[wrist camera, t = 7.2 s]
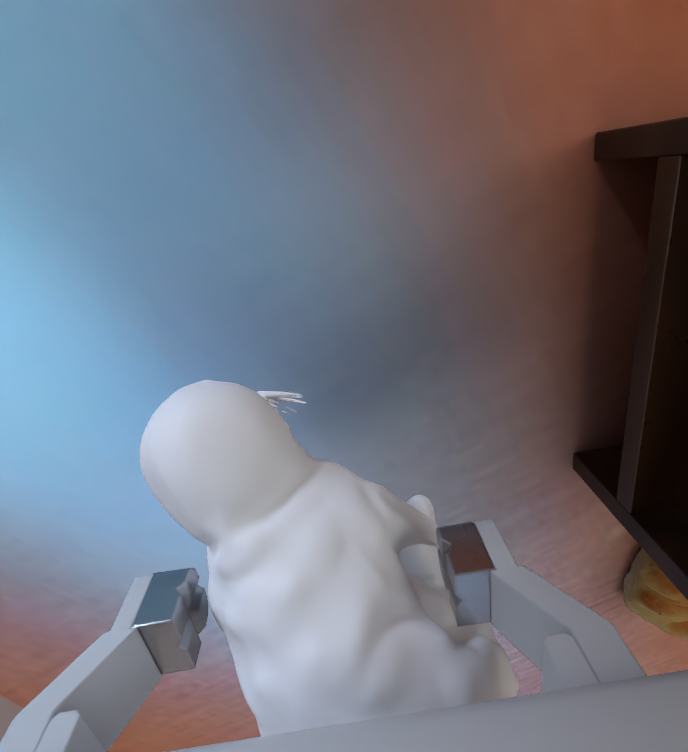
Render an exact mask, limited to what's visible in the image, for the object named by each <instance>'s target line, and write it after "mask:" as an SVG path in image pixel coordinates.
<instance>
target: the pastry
mask: <svg viewBox="0 0 688 752" xmlns="http://www.w3.org/2000/svg"><path fill="white" fill-rule="evenodd" d="M640 550H641V551H639V552H638V554H637V555H636V557H635V559H634V561H633V563H632V564H631V570H630V572H629V573H627V574H626V576H625V578H624V582H623V584H624V602H625V604H626V606H627V607H628V608H629V609H630V610H631V611H633V612H635V613H637V614H638V615H640V616H641V617H642V618H643V619H644V620H646V621H648V622H650V623H652V624H655V625H656V626H658V627H659V628H660V629H661V630H663V631H664V632H666V633H668V634H671V635H675V636H680V637H688V600H687V599H686V598H685V597H684V596H683V595H682V593H681V592H680V591H679V590H678V589H677V588H676V586H675V585H674V584H673V583H672V582H671V581H670V580H669V578H668V577H667V576H666V575H665V574H664V573H663V571H662V570H661V569H660V568H659V567H658V566H657V565H656V563H655V562H654V561H653V560H652V559H651V558H650V556H649V555H648V554H647V553H646V552H645V551H644V550H643V548H642V547H641V549H640Z"/></svg>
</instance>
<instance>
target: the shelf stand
mask: <svg viewBox="0 0 688 752" xmlns="http://www.w3.org/2000/svg"><path fill="white" fill-rule="evenodd" d="M659 156H661V157H659ZM644 157H659V158H658V164H657V172H656V181H655V189H654V197H653V205H652V213H651V221H650V230H649V238H648V246H647V254H646V262H645V270H644V278H643V287H642V295H641V303H640V311H639V319H638V327H637V335H636V344H635V352H634V360H633V368H632V376H631V384H630V393H629V401H628V409H627V417H626V425H625V433H624V441H623V446H619V447H612V448H606V449H599V450H593V451H587V452H580V453H575V454H574V461H573V469H574V470H575V471H576V472H577V473H578V475H579V476H580V477H581V478H582V479H583V480H584V482H585V483H586V484H587V485H588V486H589V487H590V488H591V490H592V491H593V492H594V493H595V494H596V495H597V497H598V498H599V499H600V500H601V501H602V502H603V503H604V505H605V506H606V507H607V508H608V509H609V510H610V512H611V513H612V514H613V515H614V516H615V517H616V518H617V520H618V521H619V522H620V523H621V524H622V525H623V526H624V528H625V529H626V530H627V531H628V532H629V533H630V535H631V536H632V537H633V538H634V539H635V540H636V541H637V543H638V544H639V545H640V546H641V547H642V548H643V550H644V551H645V552H646V553H647V554H648V555H649V556H650V558H651V559H652V560H653V561H654V562H655V563H656V565H657V566H658V567H659V568H660V569H661V570H662V571H663V573H664V574H665V575H666V576H667V577H668V578H669V580H670V581H671V582H672V583H673V584H674V585H675V586H676V588H677V589H678V590H679V591H680V592H681V593H682V595H683V596H684V597H685V598H686V599H687V600H688V117H684V118H678V119H672V120H667V121H661V122H655V123H649V124H644V125H638V126H632V127H626V128H621V129H615V130H609V131H603V132H598V133H596V142H595V157H594V160H595V161H601V160H616V159H630V158H644Z"/></svg>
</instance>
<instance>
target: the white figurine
mask: <svg viewBox="0 0 688 752" xmlns="http://www.w3.org/2000/svg"><path fill="white" fill-rule="evenodd" d="M290 392H294V391H290ZM300 396H303V395H301V394H295V393H288V392H282V391H258V392H255V391H253V390H251V389H249V388H247V387H244V386H242V385H239V384H236V383H233V382H221V381H213V380H202V381H199V382H197V383H193V384H190V385H187V386H184V387H182V388H180V389H178V390H177V391H176V392H174V393H173V394H172V395H171V396H170V397H168V398H167V399H166V400H165V401H164V402H163V403H162V404H161V405H160V406H159V407H158V408H157V410H156V411H155V412H154V414H153V415H152V417H151V419H150V421H149V422H148V424H147V426H146V428H145V431H144V433H143V436H142V439H141V444H140V465H141V470H142V473H143V476H144V478H145V480H146V482H147V484H148V486H149V488H150V489H151V491H152V493H153V494H154V495H155V497H156V498H157V500H158V501H159V502H160V504H161V505H162V506H163V508H164V509H165V510H166V511H167V512H168V513H169V514H170V516H171V517H172V518H173V519H174V520H175V521H177V522H178V523H179V524H180V525H181V526H182V527H183V528H184V529H185V530H186V531H187V532H188V533H190V534H191V535H192V536H193V537H195V538H196V539H198V540H199V541H201V542H203V543H205V544H207V563H208V569H209V584H208V598H209V602H210V606H211V610H212V613H213V615H214V617H215V619H216V621H217V623H218V625H219V626H220V628H221V629H222V630H223V632H224V633H225V635H226V637H227V640H228V644H229V647H230V650H231V653H232V655H233V659H234V664H235V668H236V672H237V676H238V680H239V683H240V686H241V689H242V691H243V694H244V696H245V699H246V701H247V703H248V705H249V707H250V709H251V710H252V712H253V714H254V715H255V717H256V719H257V723H258V727H259V731H260V734H261V737H263V736H270V735H276V734H283V733H289V732H295V731H302V730H308V729H315V728H321V727H327V726H334V725H340V724H346V723H353V722H359V721H365V720H372V719H378V718H384V717H391V716H397V715H403V714H409V713H416V712H422V711H428V710H435V709H441V708H447V707H454V706H460V705H466V704H473V703H479V702H486V701H492V700H498V699H505V698H511V697H516V694H517V691H518V688H519V682H518V680H517V677H516V676H515V674H514V672H513V669H512V666H511V664H510V661H509V659H508V657H507V655H506V653H505V651H504V649H503V648H502V646H501V645H500V644H499V643H498V642H497V640H496V638H495V635H494V633H493V631H492V629H491V627H490V625H489V623H480V624H472V625H465V626H458V625H457V622H456V619H455V616H454V613H453V610H452V607H451V604H450V595H449V590H448V589H446V588H445V584H444V581H443V578H442V574H441V570H440V564H439V557H438V551H437V548H436V546H439V545H438V541H437V537H436V528H439V526H438V525H437V523H436V522H435V515H434V510H433V507H432V504H431V502H430V500H429V499H428V498H427V497H426V496H424V495H415V496H413V497H411V498H410V499H409V500H407V501H406V502H405V501H404V500H402V499H400V498H398V497H397V496H395V495H394V494H392V493H391V492H390V491H389V490H388V489H387V488H385V487H383V486H381V485H379V484H376V483H373V482H370V481H367V480H364V479H362V478H361V477H359V476H357V475H356V474H354V473H353V472H351V471H350V470H348V469H347V468H345V467H343V466H342V465H340V464H337V463H335V462H332V461H327V460H320V459H315V458H313V457H312V456H311V455H309V454H308V453H307V452H306V451H305V450H304V449H303V448H302V447H301V446H300V445H299V444H298V443H297V442H296V441H295V439H294V438H293V436H292V434H291V432H290V430H289V425H288V424H286V422H285V421H284V420H283V418H282V416H281V415H280V414H279V412H278V411H277V410H276V409H275V408H274V407H276V408H278V407H277V406H275V405H274V404H276V403H277V402H276V401H283V402H293V403H304V404H307V402H304V401H299V400H294V399H290V398H302V397H300ZM268 400H270V401H268ZM271 401H274V402H276V403H273V402H271ZM271 403H272V404H271ZM278 404H280V403H279V402H278ZM276 405H277V404H276ZM282 406H283V405H282ZM283 407H285V408H286V406H283ZM278 409H279V408H278ZM289 409H290V408H289ZM291 410H292V409H291ZM281 411H282V410H281ZM292 411H293V410H292ZM282 412H285V411H282ZM294 412H296V411H295V410H294ZM285 413H286V412H285ZM286 414H289V413H286ZM289 415H290V414H289Z"/></svg>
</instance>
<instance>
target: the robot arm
mask: <svg viewBox="0 0 688 752" xmlns="http://www.w3.org/2000/svg"><path fill="white" fill-rule="evenodd" d="M436 537H437V541H438V545H439V548H440V549H439V550H438V557H439V564H440V570H441V574H442V578H443V581H444V584H445V588H446V589H448V590H449V595H450V604H451V607H452V610H453V613H454V616H455V619H456V622H457V625H458V626H465V625H472V624H480V623H488V622H491V624H492V625H493V626H494V627H495V628H496V629H497V630H498V631H499V632H500V633H501V634H503V635H504V636H505V637H506V638H507V639H508V640H509V641H510V642H511V643H512V644H513V645H514V646H515V647H516V648H517V649H518V650H519V651H520V652H521V653H522V654H523V655H524V656H526V657H527V658H528V659H529V660H530V661H531V662H532V663H533V664H534V665H535V666H536V667H537V668H538V669H539V670H540V671H541V672H542V682H541V693H537V694H530V695H524V696H517V697H511V698H505V699H498V700H492V701H486V702H479V703H473V704H466V705H460V706H454V707H447V708H441V709H435V710H428V711H422V712H416V713H409V714H403V715H397V716H391V717H384V718H378V719H372V720H365V721H359V722H353V723H346V724H340V725H334V726H327V727H321V728H315V729H308V730H302V731H295V732H289V733H283V734H276V735H270V736H263V737H257V738H251V739H244V740H238V741H231V742H225V743H219V744H212V745H206V746H199V747H193V748H187V749H180V750H174V751H167V752H688V670H683V671H677V672H671V673H664V674H658V675H651V676H647V675H646V674H645V672H644V671H643V669H642V667H641V666H640V664H639V663H638V661H637V660H636V658H635V657H634V655H633V654H632V652H631V651H630V649H629V648H628V646H627V645H626V643H625V642H624V640H623V639H622V637H621V636H620V634H619V633H618V631H617V630H616V628H615V627H614V625H613V624H612V623H611V622H609V621H608V620H606V619H605V618H603V617H602V616H600V615H599V614H597V613H596V612H594V611H592V610H591V609H589V608H588V607H586V606H585V605H583V604H582V603H580V602H579V601H577V600H576V599H574V598H573V597H571V596H569V595H568V594H566V593H565V592H563V591H562V590H560V589H559V588H557V587H556V586H554V585H553V584H551V583H550V582H548V581H546V580H545V579H543V578H542V577H540V576H539V575H537V574H536V573H534V572H533V571H531V570H530V569H528V568H527V567H525V566H517V564H516V562H515V560H514V558H513V556H512V554H511V552H510V550H509V549H508V547H507V545H506V543H505V541H504V539H503V537H502V535H501V533H500V531H499V529H498V527H497V526H496V524H495V522H494V520H492V519H485V520H479V521H474V522H468V523H462V524H456V525H450V526H445V527H439V528H436ZM198 580H199V575H198V573H197V571H196V569H195V568H188V569H180V570H173V571H165V572H158V573H153V574H146V575H139V576H137V577H136V578H135V579H134V580H133V582H132V584H131V587H130V589H129V591H128V593H127V595H126V598H125V600H124V602H123V604H122V606H121V609H120V611H119V613H118V615H117V617H116V620H115V622H114V624H113V626H112V628H111V630H110V632H106V633H104V634H103V635H101V636H100V637H99V638H98V639H97V640H96V641H95V642H94V643H93V644H92V645H91V646H90V647H89V648H88V649H87V650H86V651H84V652H83V653H82V654H81V655H80V656H79V657H78V658H77V659H76V660H75V661H74V662H73V663H72V664H71V665H70V666H69V667H67V668H66V669H65V670H64V671H63V672H62V673H61V674H60V675H59V676H58V677H57V678H56V679H55V680H54V681H53V682H52V683H51V684H49V685H48V686H47V687H46V688H45V689H44V690H43V691H42V692H41V693H40V694H39V695H38V696H37V697H36V698H35V699H34V700H32V701H31V702H30V703H29V704H28V705H27V706H26V707H25V708H24V709H23V710H22V711H21V712H20V713H19V714H18V715H17V716H15V718H14V719H13V721H12V723H11V724H10V726H9V728H8V730H7V732H6V733H5V735H4V737H3V739H2V740H1V742H0V752H108V750H109V749H110V748H111V746H112V745H113V743H114V742H115V741H116V739H117V738H118V737H119V735H120V734H121V732H122V731H123V730H124V728H125V727H126V726H127V724H128V723H129V722H130V720H131V719H132V717H133V716H134V715H135V713H136V712H137V711H138V709H139V708H140V707H141V705H142V704H143V702H144V701H145V700H146V698H147V697H148V696H149V694H150V693H151V691H152V690H153V689H154V687H155V686H156V685H157V683H158V682H159V681H160V679H161V678H162V674H167V673H172V672H178V671H183V670H188V669H193V668H195V666H196V662H197V658H198V654H199V650H200V646H201V641H200V638H199V636H198V634H199V633H200V632H201V631H202V630H203V629H204V627H205V626H206V622H207V617H208V600H207V595H206V592H205V590H204V588H202V587H200V586H199V585H197V583H198Z"/></svg>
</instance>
